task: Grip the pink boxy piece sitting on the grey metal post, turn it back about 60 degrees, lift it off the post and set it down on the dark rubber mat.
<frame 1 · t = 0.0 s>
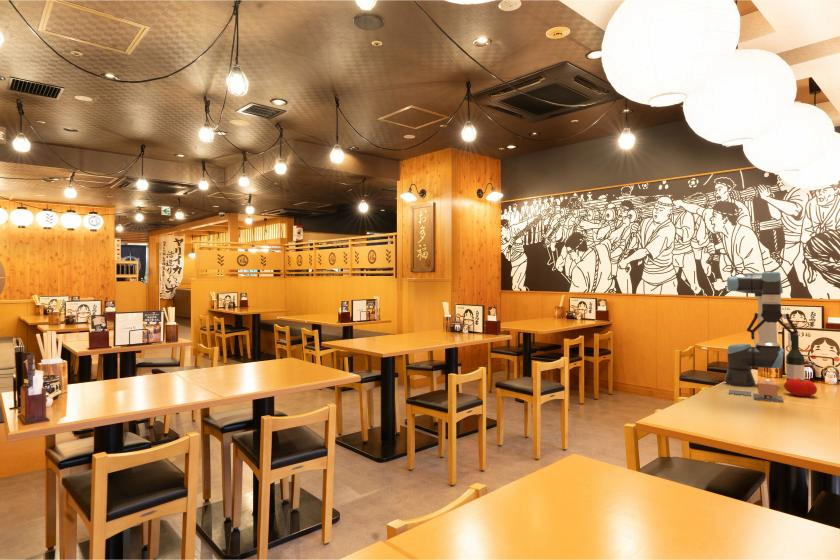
hand: (772, 347, 240), 28 cm above the table, tool pointing down, fingers open, 13 cm apart
mat: (739, 393, 264), on the table
tomato: (801, 395, 258), on the table
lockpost: (768, 398, 251), on the table
wine bottle: (795, 386, 282), on the table
pink boxy piece: (767, 393, 251), point 2 cm above the table, touching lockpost
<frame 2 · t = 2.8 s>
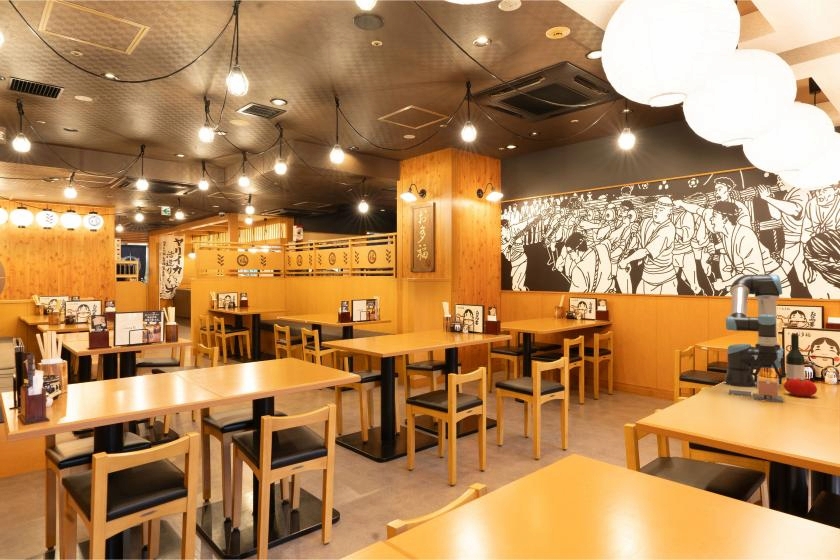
hand: (767, 389, 251), 5 cm above the table, tool pointing down, fingers closed on pink boxy piece, 8 cm apart
pink boxy piece: (767, 393, 251), point 3 cm above the table, touching gripper, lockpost
everything else where it was.
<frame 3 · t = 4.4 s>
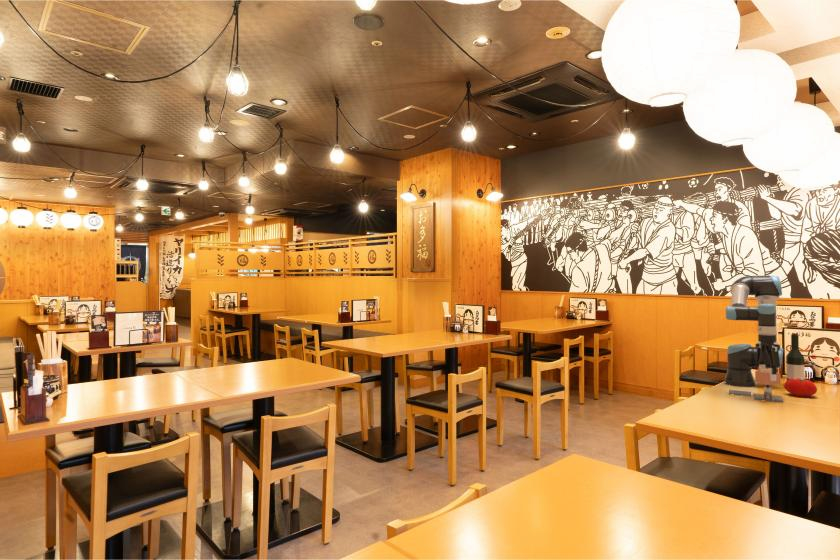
hand: (767, 378, 252), 10 cm above the table, tool pointing down, fingers closed on pink boxy piece, 8 cm apart
pink boxy piece: (767, 383, 252), point 8 cm above the table, touching gripper
everything else where it was.
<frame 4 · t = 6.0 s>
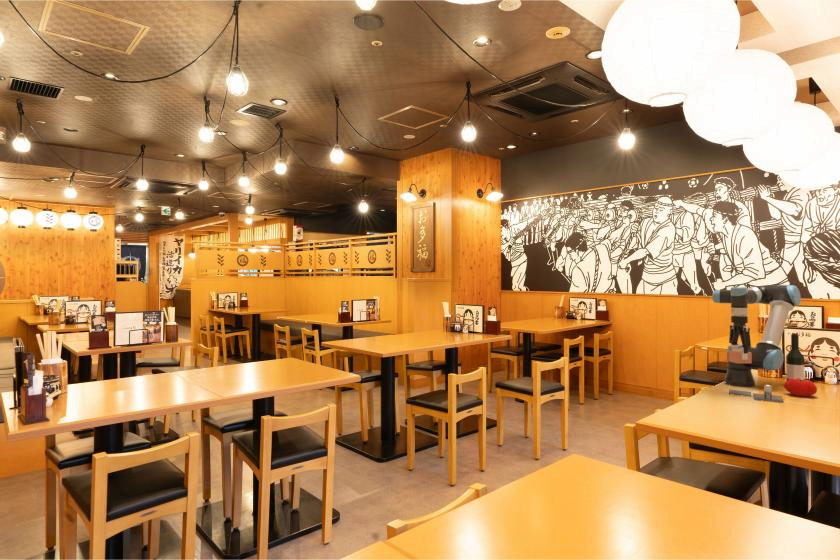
hand: (739, 358, 264), 19 cm above the table, tool pointing down, fingers closed on pink boxy piece, 8 cm apart
pink boxy piece: (739, 362, 264), point 17 cm above the table, touching gripper
everything else where it was.
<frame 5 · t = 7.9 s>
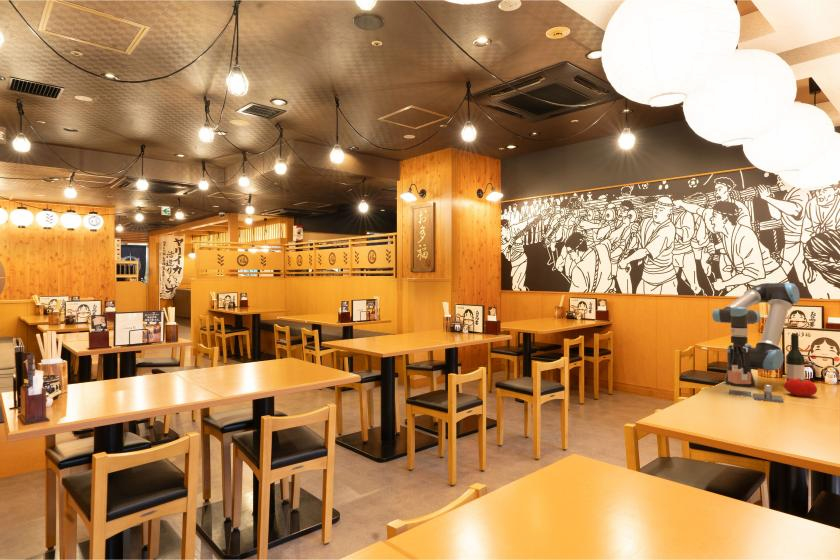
hand: (739, 378, 264), 8 cm above the table, tool pointing down, fingers closed on pink boxy piece, 8 cm apart
pink boxy piece: (739, 382, 264), point 6 cm above the table, touching gripper
everything else where it was.
when the fingers open (4 cm above the table, at t = 9.2 s): pink boxy piece drops 1 cm, resting on mat.
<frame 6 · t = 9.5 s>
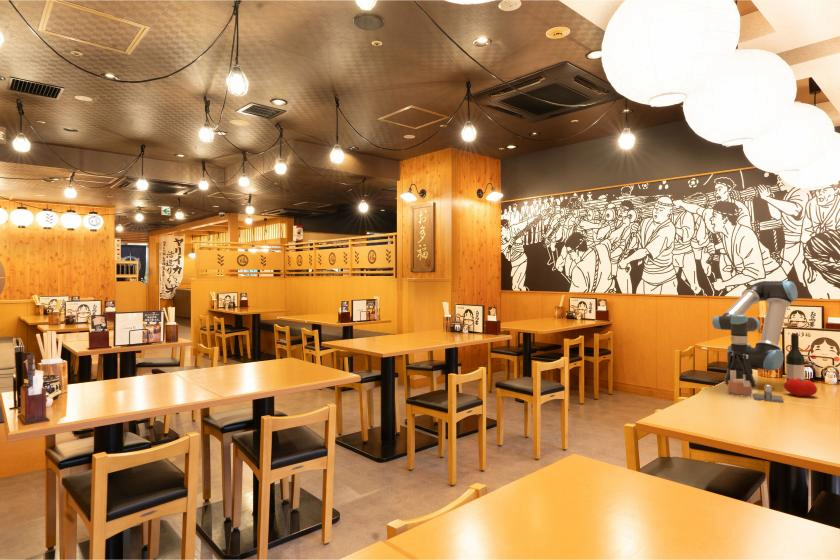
hand: (739, 384, 264), 5 cm above the table, tool pointing down, fingers open, 11 cm apart
pink boxy piece: (739, 392, 264), point 1 cm above the table, touching mat
everything else where it was.
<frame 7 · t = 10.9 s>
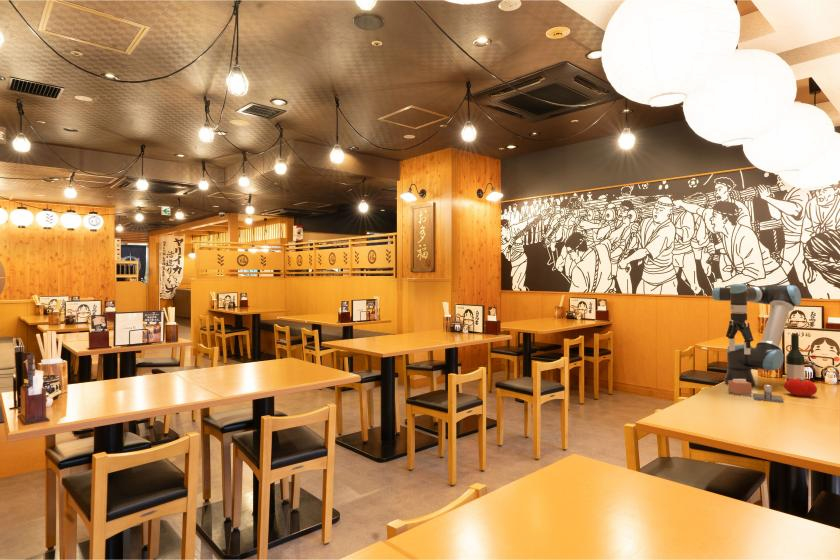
hand: (739, 352, 264), 22 cm above the table, tool pointing down, fingers open, 13 cm apart
nothing on the table moved.
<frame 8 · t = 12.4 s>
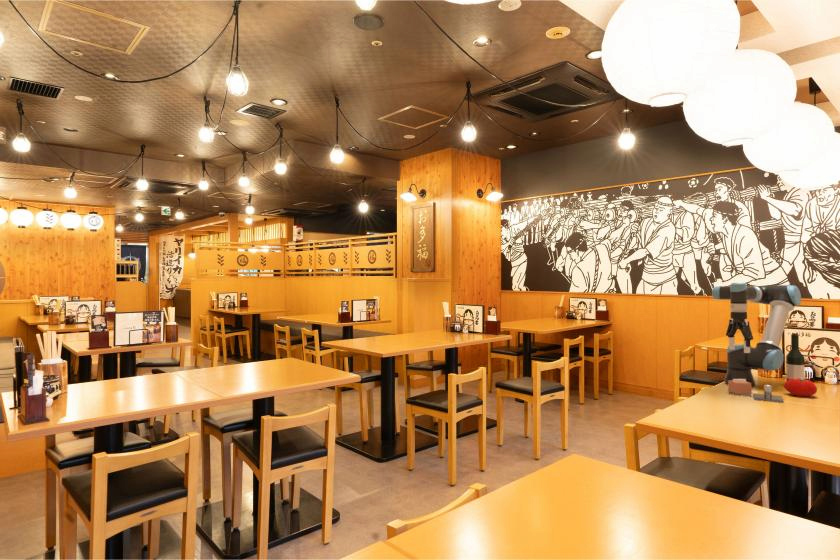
hand: (739, 351, 264), 23 cm above the table, tool pointing down, fingers open, 13 cm apart
nothing on the table moved.
at the end: pink boxy piece inside the target area on the mat (0.1 cm from its centre), point 0.6 cm above the mat's base; pink boxy piece tilted 0°; the gripper is holding nothing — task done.
